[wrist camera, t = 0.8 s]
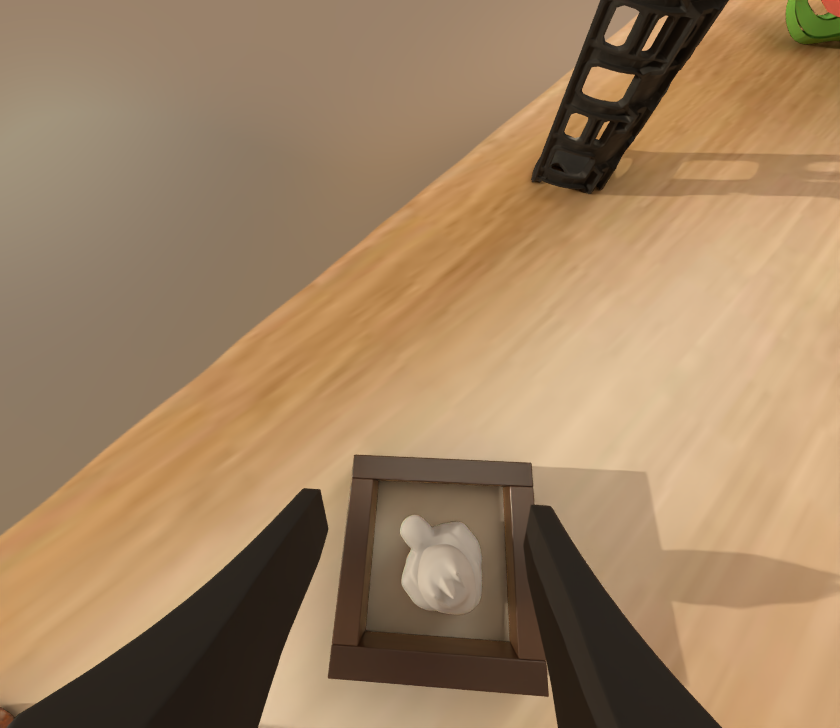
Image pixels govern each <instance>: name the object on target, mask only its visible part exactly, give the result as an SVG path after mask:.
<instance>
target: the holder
mask: <svg viewBox="0 0 840 728" xmlns="http://www.w3.org/2000/svg"><path fill="white" fill-rule="evenodd" d="M728 1H729V0H600V3H599V5H598V9H597V11H596V14H595V16H594V19H593V21H592V24H591V27H590V30H589V32H588V34H587V37H586V40H585V42H584V45H583V47H582V50H581V53H580V55H579V58H578V61H577V64H576V66H575V68H574V71H573V74H572V76H571V79H570V81H569V84H568V86H567V89H566V92H565V94H564V97H563V99H562V102H561V104H560V107H559V110H558V112H557V115H556V117H555V120H554V123H553V125H552V128H551V131H550V133H549V136H548V138H547V141H546V144H545V146H544V149H543V152H542V154H541V157H540V158H539V160H538V162H537V163H536V165H535V168H534V170H533V174H532V179H531V180H532V182H533V181H539V182H541V181H544V182H546V183H549V184H552V185H555V186H558V187H563V188H569V189H580V190H581V191H582V192H584V193H588V194H591V193H592V191H593V190H594V188H595V186H597V187H598V188H599V190H602V189H603V187H604V186H605V184H606V183H607V181H608V180H609V178H610V177H611V175H612V174H613V172H614V171H615V169H616V167H617V165H618V163H619V161H620V159H621V157H622V155H623V154H624V152H625V151H626V150H627V148H628V147H629V146H630V145H631V143H632V142H633V141H634V139H635V137H636V136H637V135H638V134H639V132H640V131H641V129H642V128H643V126H644V125H645V123H646V122H647V120H648V119H649V117H650V116H651V114H652V113H653V111H654V110H655V108H656V107H657V105H658V104H659V102H660V101H661V99H662V97H663V96H664V95H665V93H666V92H667V90H668V88H669V86H670V84H671V82H672V80H673V79H674V77H675V76H676V74H677V73H678V71H679V70H681V69H682V67H683V66H684V64H685V63H686V62H687V60H688V59H689V58H690V57H691V55H692V54H693V52H694V50H695V48H696V47H697V46H698V45H699V43H700V42H701V41H702V39H703V38H704V36H705V35H706V33H707V32H708V30H709V29H710V27H711V26H712V24H713V23H714V22H715V20H716V19H717V17H718V16H719V14H720V13H721V11H722V10H723V8H724V7H725V5H726V4H727V2H728ZM623 5H625V6H628V7H631V8H634V9H636V10H638V11H639V15H638V17H637V19H636V21H635V23H634V25H633V27H632V30H631V32H630V34H629V35H628V37H627V40H626V42H625V43H624V44H623V45H621V46H614V45H611V44H609V43H607V42H605V38H604V35H605V32H606V30H607V28H608V25H609V23H610V21H611V19H612V16H613V14H614V12H615V10H616V8H617V7H620V6H623ZM665 15H666V16H668V18H667V20H666V21H665V23H664V25H663V26H662V28H661V30H660V32H659V34H658V36H657V37H656V39H655V41H654V43H653V44H652V46H651V48H649V49H648V50H647V51H642V49H643V47H644V45H645V43H646V41H647V39H648V38H649V36H650V34H651V32H652V30H653V29H654V27H655V25H656V23H657V22H658V20H659V19H660V18H662V17H664V16H665ZM597 66H599V67H602V68H605V69H609V70H612V71H616V72H620V73H626V74H633V75H635V76H634V78H633V80H632V82H631V84H630V85H629V87H628V89H627V91H626V93H625V95H624V97H623V98H622V99H620V100H619V101H618V102H609V101H603V100H599V99H595V98H592V97H590V96H588V95H585V94H583V92H582V88H583V85H584V83H585V80H586V78H587V76H588V74H589V71H590V69H591V67H597ZM574 113H578V114H581V115H584V116H586V117H588V122H587V124H586V126H585V128H584V130H583V132H582V134H581V136H580V137H578V138H573V137H571V136H569V135H566V134H565V132H564V131H565V128H566V125H567V123H568V120H569V118H570V116H571V114H574ZM607 121H610V122H609V124H608V126H607V127H606V129H605V131H604V132H603V134H602V136H601V138H600V139H599V140H598V139H596V137H597V135H598V133H599V131H600V129H601V127H602V125H603V123H604V122H607ZM552 166H559V167H561V168H562V169H563V170H564V172H561V171H558V170H555V169H553V168H551V167H552Z"/></svg>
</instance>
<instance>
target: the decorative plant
mask: <svg viewBox="0 0 840 728" xmlns="http://www.w3.org/2000/svg"><path fill="white" fill-rule="evenodd" d="M821 1H822V3H823V4H824V6H825V8H826V10H827V11H828V13H827V14H825V15H818V14H817V15H818V16H817V15H815V14H814V13H815V12H814V11H813V10H812V9H811V7H810V6H809V4H808V0H788V3H787V7H786V23H787V28H788V31H789V33H790V35H791V37H792V38H793V39H794V40H795V41H797V42H798V43H802V44H815V43H821V42H826V41H840V0H821ZM813 12H814V13H813ZM799 26H801V27H802V28H803V30H804V31H803V30H801V29H800V27H799Z"/></svg>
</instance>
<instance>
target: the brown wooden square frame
mask: <svg viewBox="0 0 840 728" xmlns="http://www.w3.org/2000/svg"><path fill="white" fill-rule="evenodd" d="M378 480H382V481H402V482H422V483H443V484H463V485H483V486H503V498H504V521H505V544H506V568H507V591H508V615H509V638H510V642H505V641H492V640H478V639H465V638H452V637H438V636H425V635H412V634H398V633H385V632H372V631H365V630H366V620H367V609H368V598H369V586H370V575H371V564H372V553H373V541H374V530H375V519H376V508H377V497H378V485H379V481H378ZM531 505H534V492H533V478H532V464H531V463H525V462H503V461H481V460H459V459H438V458H416V457H394V456H372V455H354V461H353V469H352V479H351V487H350V495H349V504H348V512H347V520H346V529H345V537H344V546H343V554H342V563H341V571H340V580H339V588H338V596H337V605H336V613H335V622H334V630H333V639H332V647H331V655H330V663H329V672H328V678H331V679H343V680H354V681H366V682H378V683H390V684H402V685H414V686H426V687H438V688H450V689H462V690H474V691H486V692H498V693H510V694H522V695H534V696H546V697H548V696H549V692H548V678H547V665H546V657H545V653H544V648H543V644H542V640H541V635H540V631H539V627H538V623H537V618H536V614H535V610H534V605H533V601H532V597H531V592H530V588H529V583H528V578H527V571H526V564H525V556H524V547H523V544H524V539H525V533H526V528H527V523H528V517H529V512H530V507H531Z"/></svg>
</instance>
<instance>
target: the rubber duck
mask: <svg viewBox="0 0 840 728" xmlns="http://www.w3.org/2000/svg"><path fill="white" fill-rule="evenodd" d="M400 534H401V537H402V538H403V540H404V541H405V542H406V543H407V545H408V546H409V547H410V548H411V550H410V553H409V555H408V557H407V559H406V564H405V567H404V570H403V574H402V581H401V582H402V586H403V588H404V590H405V591H406V593H407V594H408V595H409V597H410V598H411V600H412V601H413V602H414V603H415V604H416V605H417V606H418V607H420V608H422V609H425V610H429V611H438V612H441V613H446V614H453V615H462V614H466V613H469V612H471V611H472V610H473V609H474V608H475V607H476V606H477V605H478V603H479V602H480V599H481V595H482V568H481V564H482V553H481V549H480V545H479V542H478V540H477V538H476V537H475V536H474V535H473V533H472V532H471V531H470V530H469V529H468V527H467V526H466V525H465V524H464V523H462V522H449V523H442V524H439V525H437V526H434V527H431V526H430V525H429V523H428V522H427V521H426V520H425V519H423V518H422V517H421V516H419V515H411V516H408V517H407V518H405V520H404V521H403V522H402V524H401V527H400Z"/></svg>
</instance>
